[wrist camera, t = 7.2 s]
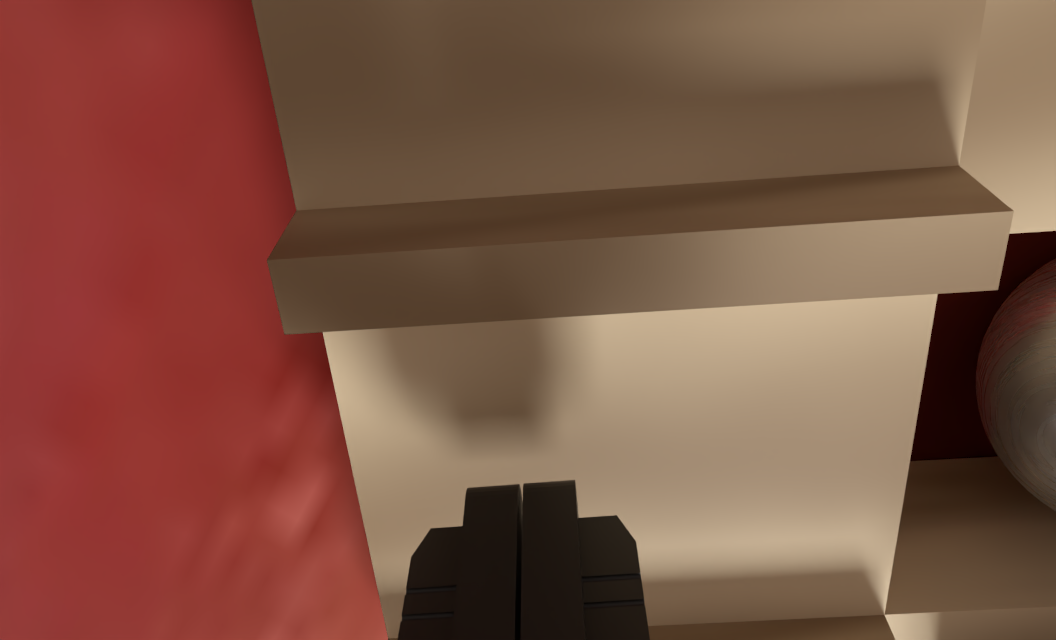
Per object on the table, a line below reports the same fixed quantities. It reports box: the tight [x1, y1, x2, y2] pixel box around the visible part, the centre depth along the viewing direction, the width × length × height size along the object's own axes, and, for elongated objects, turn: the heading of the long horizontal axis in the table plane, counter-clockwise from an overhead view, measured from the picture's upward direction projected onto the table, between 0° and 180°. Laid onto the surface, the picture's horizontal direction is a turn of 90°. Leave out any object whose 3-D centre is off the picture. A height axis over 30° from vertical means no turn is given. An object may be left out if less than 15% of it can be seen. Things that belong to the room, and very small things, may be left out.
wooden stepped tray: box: [251, 0, 1056, 640], centre depth 14 cm, size 18×18×7 cm
